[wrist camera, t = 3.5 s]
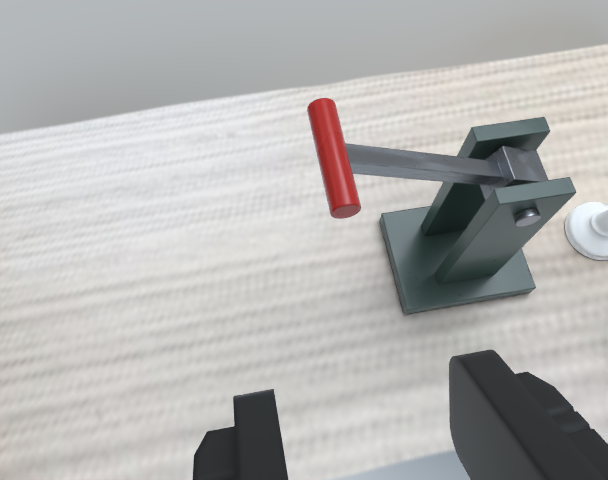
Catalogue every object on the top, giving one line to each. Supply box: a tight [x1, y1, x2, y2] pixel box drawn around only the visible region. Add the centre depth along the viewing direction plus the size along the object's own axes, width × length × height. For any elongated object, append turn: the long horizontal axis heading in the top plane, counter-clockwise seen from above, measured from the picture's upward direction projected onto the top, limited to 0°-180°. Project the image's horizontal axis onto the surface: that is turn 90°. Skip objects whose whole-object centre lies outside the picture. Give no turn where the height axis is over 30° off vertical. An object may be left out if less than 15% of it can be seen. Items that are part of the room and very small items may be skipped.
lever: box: [307, 98, 548, 219], centre depth 30 cm, size 14×6×2 cm, turn 100°
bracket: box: [380, 117, 576, 314], centre depth 38 cm, size 10×8×14 cm
